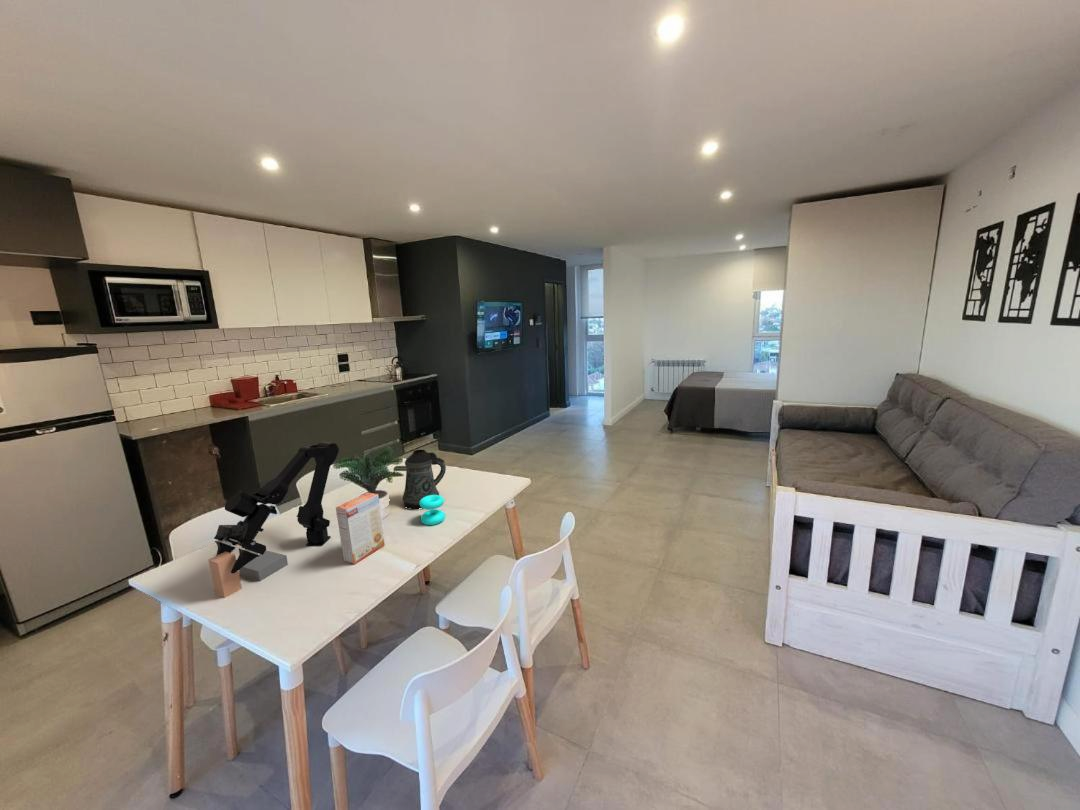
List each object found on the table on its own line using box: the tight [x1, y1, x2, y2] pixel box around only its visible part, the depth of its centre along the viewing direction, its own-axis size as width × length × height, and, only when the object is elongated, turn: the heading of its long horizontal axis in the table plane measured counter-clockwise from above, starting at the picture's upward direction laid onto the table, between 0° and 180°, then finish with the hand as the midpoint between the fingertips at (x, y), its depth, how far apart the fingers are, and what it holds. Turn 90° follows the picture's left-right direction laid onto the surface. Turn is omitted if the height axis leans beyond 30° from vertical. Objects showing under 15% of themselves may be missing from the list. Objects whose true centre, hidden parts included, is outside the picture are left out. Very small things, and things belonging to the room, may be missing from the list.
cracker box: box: [335, 492, 386, 565], centre depth 150 cm, size 14×6×21 cm, turn 153°
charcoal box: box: [238, 549, 289, 582], centre depth 143 cm, size 10×10×4 cm
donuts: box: [419, 494, 446, 526], centre depth 175 cm, size 10×10×10 cm
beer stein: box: [401, 449, 447, 510], centre depth 192 cm, size 16×19×25 cm
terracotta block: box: [208, 552, 243, 599], centre depth 131 cm, size 5×5×12 cm
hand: (223, 569), depth 131 cm, fingers open, 9 cm apart
